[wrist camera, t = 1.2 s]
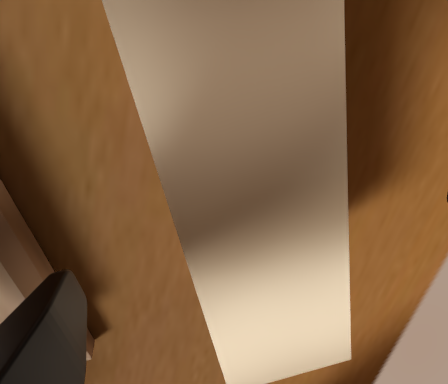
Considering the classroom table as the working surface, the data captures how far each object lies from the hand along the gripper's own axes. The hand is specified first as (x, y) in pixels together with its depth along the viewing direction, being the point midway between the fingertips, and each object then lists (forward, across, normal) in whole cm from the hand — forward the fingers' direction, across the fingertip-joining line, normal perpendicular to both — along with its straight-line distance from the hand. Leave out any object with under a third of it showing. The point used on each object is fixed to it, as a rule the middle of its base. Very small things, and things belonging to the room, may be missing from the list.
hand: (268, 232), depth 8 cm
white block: (+6, 0, 0) cm, 6 cm away
